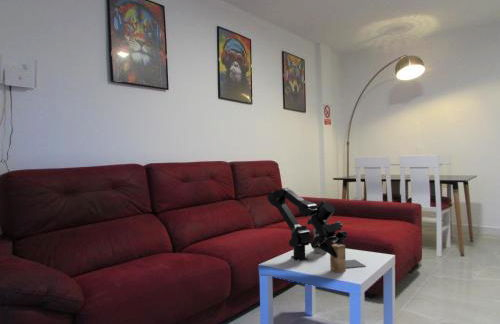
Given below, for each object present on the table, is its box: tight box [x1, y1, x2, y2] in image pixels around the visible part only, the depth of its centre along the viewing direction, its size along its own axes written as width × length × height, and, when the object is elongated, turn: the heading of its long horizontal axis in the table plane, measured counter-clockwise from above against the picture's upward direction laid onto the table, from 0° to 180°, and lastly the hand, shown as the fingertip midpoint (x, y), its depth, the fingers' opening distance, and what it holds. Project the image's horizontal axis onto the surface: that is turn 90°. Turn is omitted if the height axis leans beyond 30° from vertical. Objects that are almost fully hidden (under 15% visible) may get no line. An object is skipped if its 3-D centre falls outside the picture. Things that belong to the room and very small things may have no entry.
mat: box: [345, 259, 366, 269], centre depth 163 cm, size 10×10×1 cm
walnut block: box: [329, 243, 347, 274], centre depth 154 cm, size 4×4×11 cm
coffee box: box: [313, 219, 329, 255], centre depth 185 cm, size 9×6×16 cm
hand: (340, 256), depth 153 cm, fingers closed on walnut block, 4 cm apart
